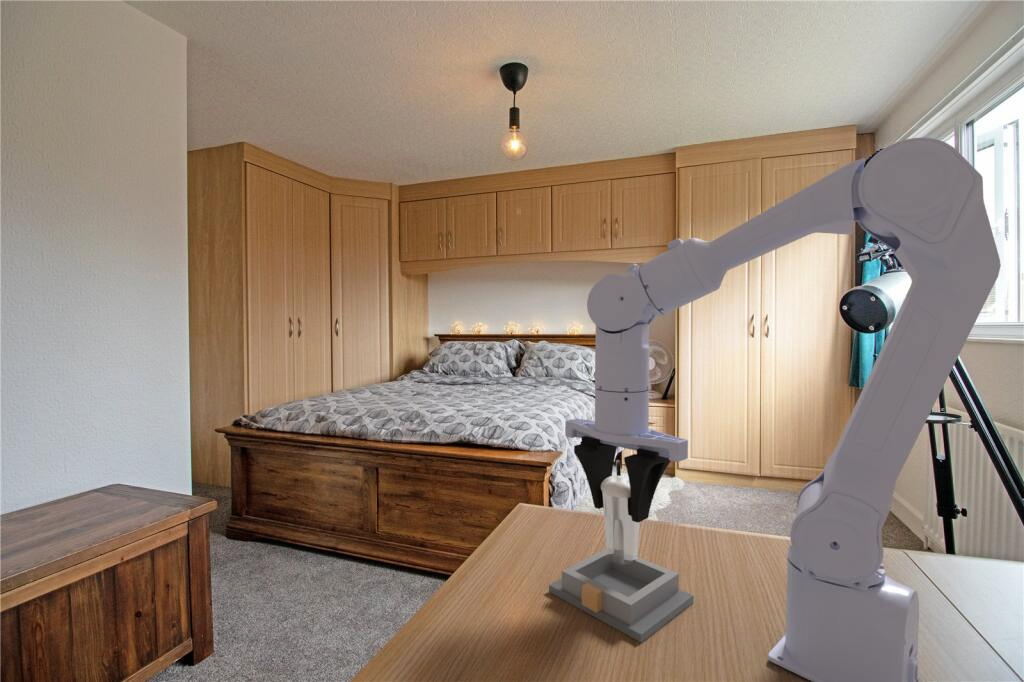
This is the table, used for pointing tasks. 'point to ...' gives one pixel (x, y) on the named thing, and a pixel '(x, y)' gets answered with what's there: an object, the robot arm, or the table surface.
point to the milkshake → (619, 519)
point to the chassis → (623, 593)
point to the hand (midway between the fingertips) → (620, 512)
